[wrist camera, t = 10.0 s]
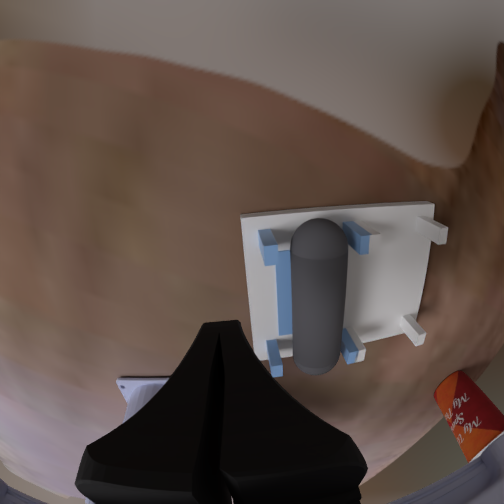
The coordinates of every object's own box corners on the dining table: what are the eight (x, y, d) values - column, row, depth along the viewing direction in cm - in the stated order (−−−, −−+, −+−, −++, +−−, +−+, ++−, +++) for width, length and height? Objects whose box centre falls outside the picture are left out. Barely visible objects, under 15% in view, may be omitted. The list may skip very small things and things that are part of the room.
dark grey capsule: (328, 349, 23) (344, 377, 20) (287, 358, 23) (299, 389, 19) (333, 209, 19) (360, 224, 15) (281, 215, 18) (299, 231, 15)
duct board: (408, 324, 25) (429, 349, 21) (254, 353, 24) (259, 387, 20) (427, 201, 20) (458, 214, 16) (240, 214, 19) (243, 232, 16)
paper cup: (434, 377, 29) (486, 455, 16) (475, 356, 29) (528, 421, 16) (422, 411, 32) (462, 481, 19) (460, 391, 32) (503, 452, 19)
